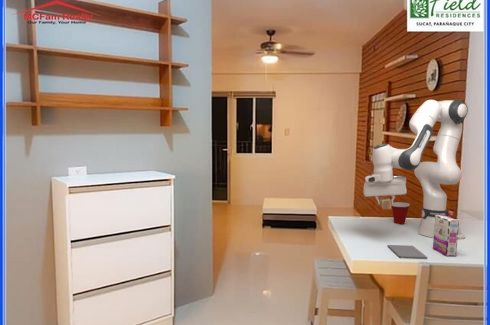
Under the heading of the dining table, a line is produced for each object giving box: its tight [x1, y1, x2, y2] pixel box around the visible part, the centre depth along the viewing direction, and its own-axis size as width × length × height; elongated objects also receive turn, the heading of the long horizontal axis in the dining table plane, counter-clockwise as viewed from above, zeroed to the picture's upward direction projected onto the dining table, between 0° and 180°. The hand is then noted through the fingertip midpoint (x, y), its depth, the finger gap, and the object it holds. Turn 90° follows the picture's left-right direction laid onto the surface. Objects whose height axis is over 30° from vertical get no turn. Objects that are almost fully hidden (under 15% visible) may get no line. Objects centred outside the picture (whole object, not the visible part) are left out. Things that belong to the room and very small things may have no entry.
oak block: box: [379, 196, 392, 210], centre depth 189 cm, size 4×4×10 cm
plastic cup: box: [391, 201, 411, 225], centre depth 227 cm, size 11×11×12 cm
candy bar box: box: [432, 215, 460, 257], centre depth 175 cm, size 11×5×16 cm, turn 5°
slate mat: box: [386, 244, 428, 260], centre depth 174 cm, size 12×16×1 cm
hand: (385, 204), depth 189 cm, fingers closed on oak block, 4 cm apart
